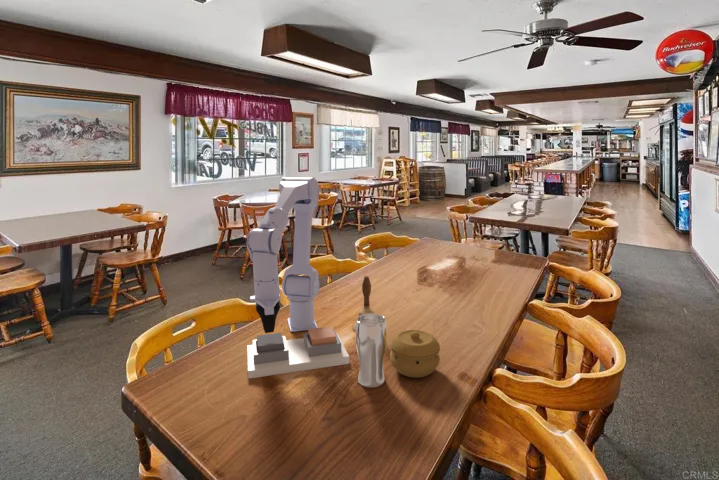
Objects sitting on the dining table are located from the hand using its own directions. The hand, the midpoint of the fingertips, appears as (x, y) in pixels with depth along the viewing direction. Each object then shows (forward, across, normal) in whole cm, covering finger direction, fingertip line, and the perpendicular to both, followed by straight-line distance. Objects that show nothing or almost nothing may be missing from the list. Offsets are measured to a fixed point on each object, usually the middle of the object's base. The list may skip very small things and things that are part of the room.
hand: (269, 331), depth 100 cm
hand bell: (+8, -12, +28) cm, 32 cm away
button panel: (+8, 0, +6) cm, 10 cm away
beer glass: (+8, +15, +22) cm, 27 cm away
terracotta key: (+6, 0, +13) cm, 14 cm away
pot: (+8, +14, +32) cm, 36 cm away
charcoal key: (+6, 0, 0) cm, 6 cm away
